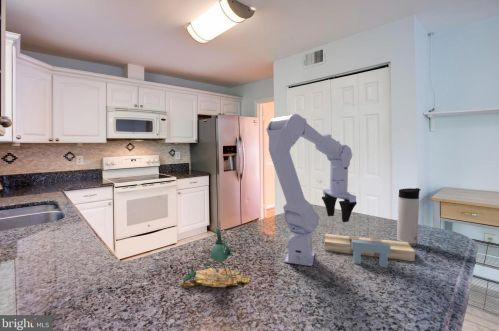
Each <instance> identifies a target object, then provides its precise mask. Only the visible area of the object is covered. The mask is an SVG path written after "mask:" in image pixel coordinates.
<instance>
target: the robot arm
mask: <svg viewBox="0 0 499 331" xmlns="http://www.w3.org/2000/svg"><path fill="white" fill-rule="evenodd" d="M265 131H266V133H267V135H268V152H269V155H270V158H271V162H272V163H273V167H274V170H275V173H276V175H277V179H278V181H279V185H280V187H281V190H282V193H283V195H284V196H283V197H284V199H285V201H286V202H285V204H284V205H283V207H282V209H283V212H284V214H283V218H284V222H285V224H287V228H288V244H287V246H288V248H287V250H288V252H287V255H286V257H285V259H284V262H285V263H289V264H294V265H301V266H308V267H312V266H313V262H314V257H315V251H313V236H314V233H313V232H315V231H316V229H317V227H318V225H319V224H320V222H319V221H320V220H319V219H320V217H319V214H318V213H317V212H316V211H315V209H314V207H313V204H311V203H310V202H309V201H308V200H307V199H306V198H305V195H304V192H303V189H302V185H301V183H300V179H299V177H298V174H297V171H296V168H295V165H294V161H293V158H292V154H291V153H290V151H291V148H292V147H293V146H294V145H295V144H296V143H297V141H298V140H299V139H300V138H301V137H302V139H303V138H304V139H306V140H307V141H309V142H310V143H312V144H314V146H315V149H316V150H317V151H318V152H320V153H322V154H324V155H325V156H326V157H327V160H328V161H329V162H330V166H329V167H330V168H329V170H330V172H329V173H330V174H329V176H330V177H329V189H327V188H326V189H323V190H322V194H323V195H324V196H321V200H322V201H323V203H324V206H325V210H326V215H327V217H334V216H335V208H336V203H337V201H338V199H339V201H338V203H339V206H340V209H341V210H340V211H341V221H342V222H343V223H348V222H350V217H351V216H352V212H353V210H354V209H355V207H356V205H357V195H354V194H351V193H350V191H348V181H349V180H348V178H349V177H348V176H349V175H348V174H349V168H350V165H351V160H352V159H353V153H352V149H351V147H350V146H348V145H347V144H341V142H340V141H339V140H336V139H335V138H333V137H332V135H331V134H330V133H328V134H321V133H320V132H318V130H316V129H315V128H314V127H312V126H311V125H310V124H308V122H307V118H304V117H303V116H301V115H300V114H298V113H293V114H291V115H284V116H281V117H280V116H279V117H272V118H271V120H270V121H269V123H268V125H267V127H266V130H265Z"/></svg>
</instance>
